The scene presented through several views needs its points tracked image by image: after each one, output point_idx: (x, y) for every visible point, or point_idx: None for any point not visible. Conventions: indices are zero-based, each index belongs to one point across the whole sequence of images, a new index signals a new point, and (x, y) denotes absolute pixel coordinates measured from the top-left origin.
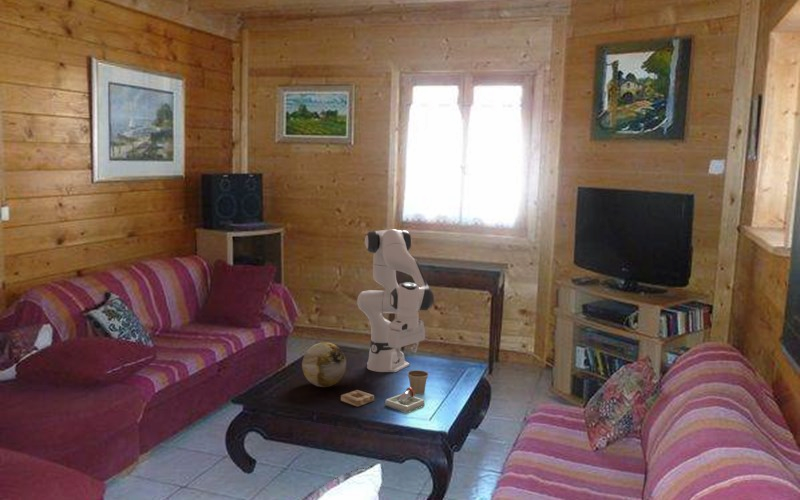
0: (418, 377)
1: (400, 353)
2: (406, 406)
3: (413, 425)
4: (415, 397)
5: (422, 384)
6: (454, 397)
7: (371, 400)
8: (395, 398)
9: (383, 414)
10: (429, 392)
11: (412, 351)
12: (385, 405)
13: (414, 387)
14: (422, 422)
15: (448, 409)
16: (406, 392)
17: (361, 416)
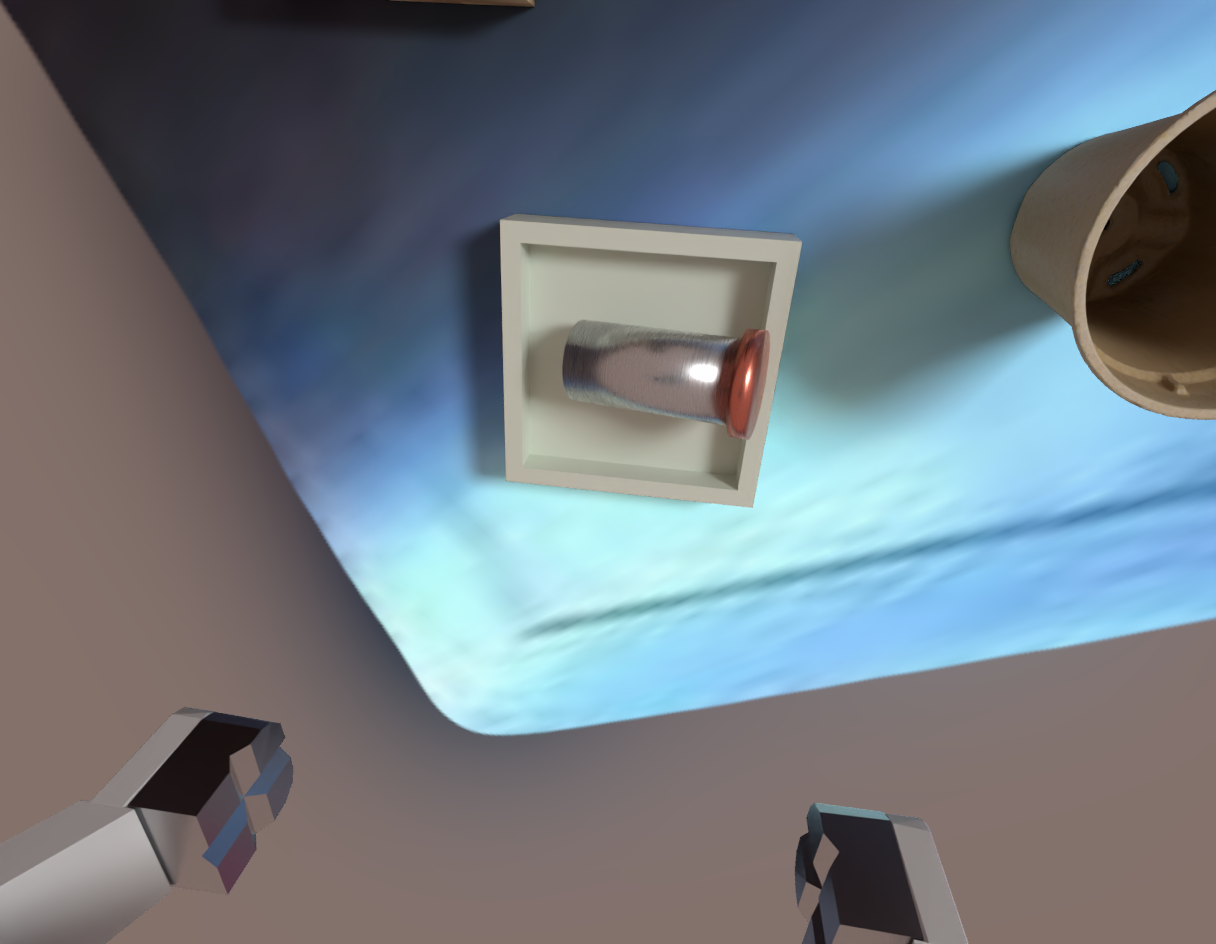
0: (1081, 354)
1: (153, 879)
2: (509, 475)
3: (381, 601)
4: (760, 415)
5: (1095, 341)
6: (1098, 572)
7: (486, 2)
8: (638, 250)
9: (352, 340)
10: None
11: (810, 852)
12: (516, 214)
13: (1034, 252)
14: (462, 618)
15: (788, 643)
16: (661, 394)
17: (173, 223)
